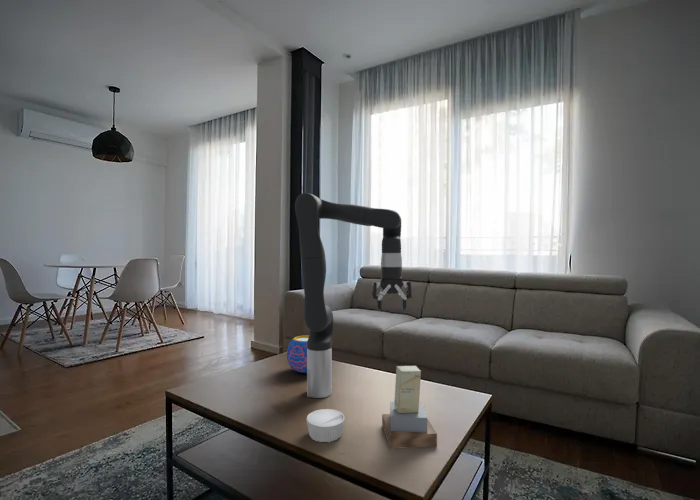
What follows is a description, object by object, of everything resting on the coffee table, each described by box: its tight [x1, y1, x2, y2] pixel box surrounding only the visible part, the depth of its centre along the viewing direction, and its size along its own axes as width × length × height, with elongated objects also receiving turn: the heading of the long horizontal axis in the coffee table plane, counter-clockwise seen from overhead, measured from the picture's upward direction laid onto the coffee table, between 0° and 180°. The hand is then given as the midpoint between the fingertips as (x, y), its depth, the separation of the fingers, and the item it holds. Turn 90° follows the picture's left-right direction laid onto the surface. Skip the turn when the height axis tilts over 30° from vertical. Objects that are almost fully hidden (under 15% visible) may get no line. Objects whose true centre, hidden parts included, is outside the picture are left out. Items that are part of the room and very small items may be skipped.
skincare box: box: [393, 365, 422, 413], centre depth 105 cm, size 6×4×12 cm
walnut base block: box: [381, 413, 438, 449], centre depth 106 cm, size 13×13×4 cm
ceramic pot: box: [286, 334, 309, 374], centre depth 162 cm, size 18×18×15 cm
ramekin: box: [306, 408, 346, 443], centre depth 106 cm, size 11×11×5 cm
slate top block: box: [389, 401, 428, 432], centre depth 106 cm, size 10×10×4 cm
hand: (391, 310), depth 132 cm, fingers open, 8 cm apart
